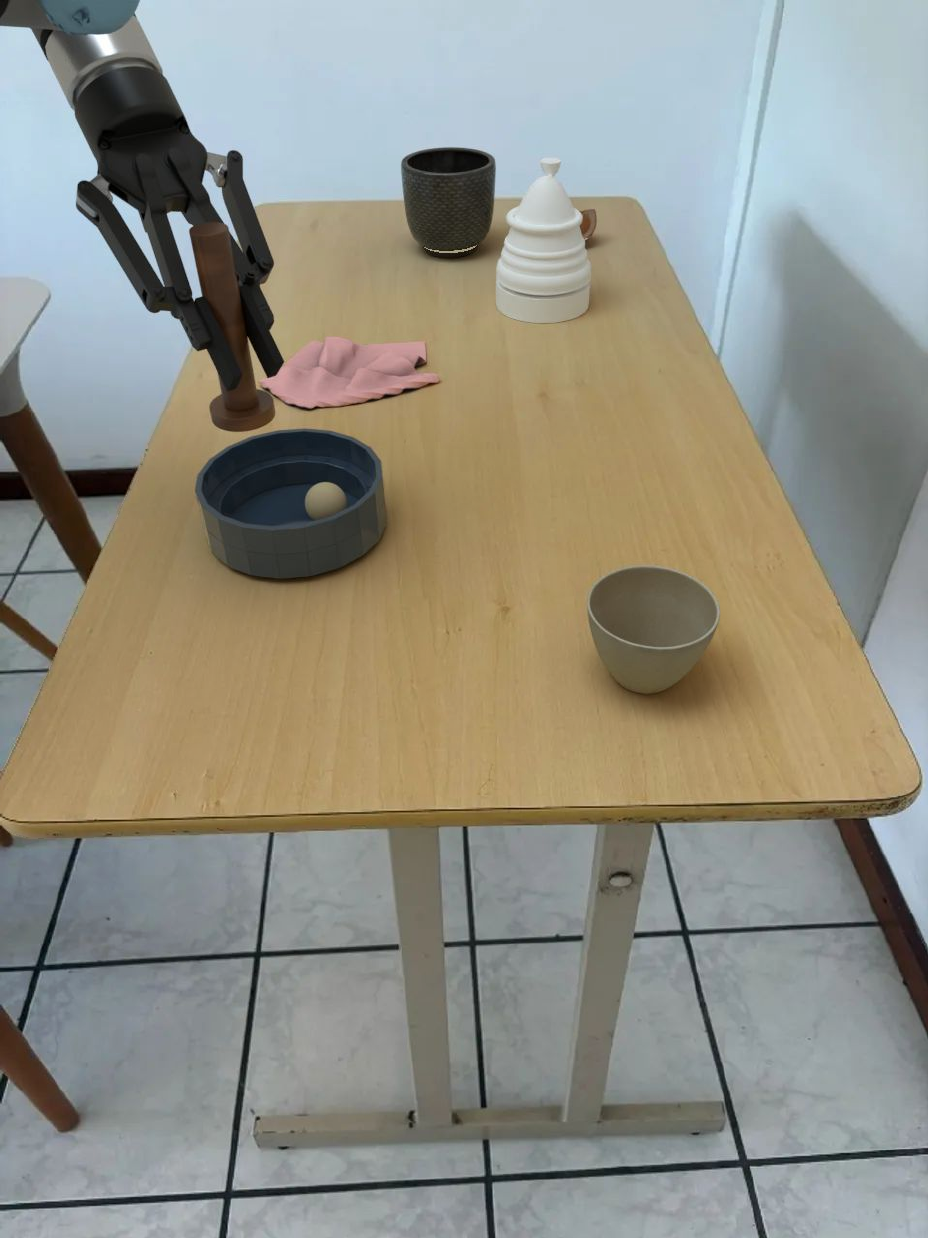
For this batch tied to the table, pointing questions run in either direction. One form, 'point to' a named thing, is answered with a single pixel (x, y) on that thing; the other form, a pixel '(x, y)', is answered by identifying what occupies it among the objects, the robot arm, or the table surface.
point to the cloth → (348, 373)
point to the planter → (449, 198)
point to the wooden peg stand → (229, 330)
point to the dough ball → (325, 500)
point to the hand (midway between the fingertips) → (255, 376)
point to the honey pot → (544, 256)
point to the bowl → (290, 502)
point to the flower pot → (651, 625)
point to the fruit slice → (588, 223)
